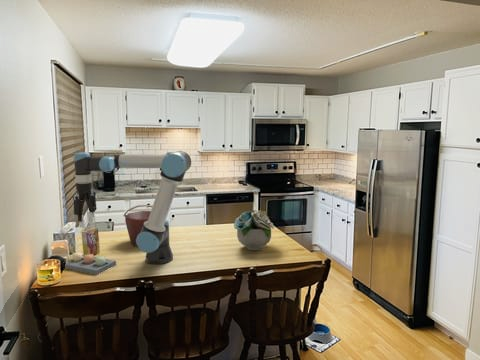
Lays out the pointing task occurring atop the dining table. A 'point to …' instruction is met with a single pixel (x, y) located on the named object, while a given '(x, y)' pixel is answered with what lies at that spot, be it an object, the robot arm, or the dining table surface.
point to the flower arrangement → (253, 229)
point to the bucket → (136, 222)
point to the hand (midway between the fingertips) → (86, 225)
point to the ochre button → (77, 257)
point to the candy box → (90, 241)
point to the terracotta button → (88, 259)
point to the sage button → (100, 261)
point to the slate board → (89, 266)
